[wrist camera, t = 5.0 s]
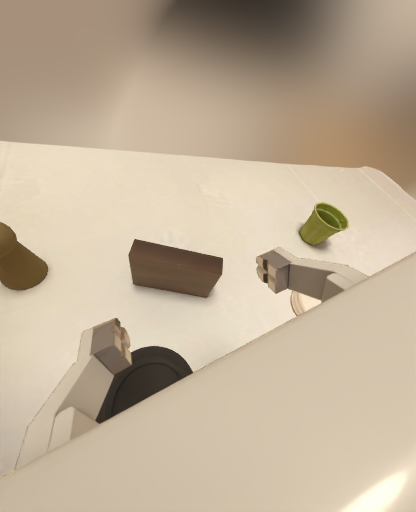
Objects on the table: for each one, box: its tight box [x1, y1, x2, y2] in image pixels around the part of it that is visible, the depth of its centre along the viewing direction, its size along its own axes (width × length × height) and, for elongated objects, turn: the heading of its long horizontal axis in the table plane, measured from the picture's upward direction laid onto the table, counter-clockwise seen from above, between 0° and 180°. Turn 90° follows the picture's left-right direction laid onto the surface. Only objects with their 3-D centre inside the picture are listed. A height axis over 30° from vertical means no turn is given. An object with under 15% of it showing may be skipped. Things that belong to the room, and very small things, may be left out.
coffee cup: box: [95, 346, 193, 424], centre depth 22 cm, size 9×9×15 cm
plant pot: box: [300, 202, 349, 245], centre depth 52 cm, size 9×9×9 cm
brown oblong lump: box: [0, 222, 48, 290], centre depth 28 cm, size 6×6×11 cm
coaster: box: [291, 291, 321, 316], centre depth 41 cm, size 10×10×4 cm
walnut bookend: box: [129, 239, 223, 297], centre depth 35 cm, size 9×14×10 cm, turn 85°
